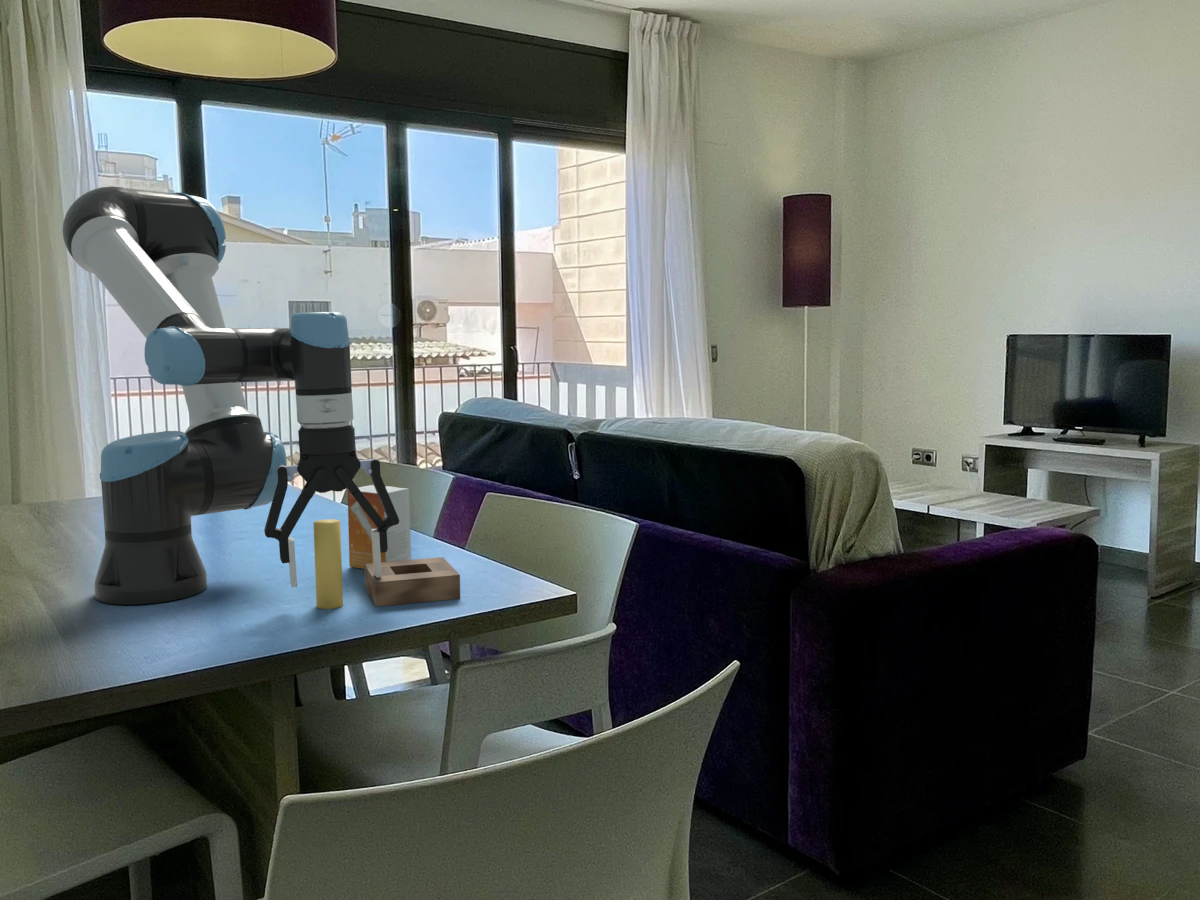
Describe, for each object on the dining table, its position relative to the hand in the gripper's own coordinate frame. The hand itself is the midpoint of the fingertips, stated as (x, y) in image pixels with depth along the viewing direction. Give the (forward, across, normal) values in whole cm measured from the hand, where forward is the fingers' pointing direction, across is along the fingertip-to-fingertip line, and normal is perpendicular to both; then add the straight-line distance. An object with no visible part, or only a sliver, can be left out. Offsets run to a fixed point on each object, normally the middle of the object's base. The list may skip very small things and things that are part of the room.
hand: (336, 580), depth 137 cm
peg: (+4, -1, 0) cm, 4 cm away
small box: (+4, +9, +21) cm, 23 cm away
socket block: (+4, +11, +3) cm, 12 cm away
